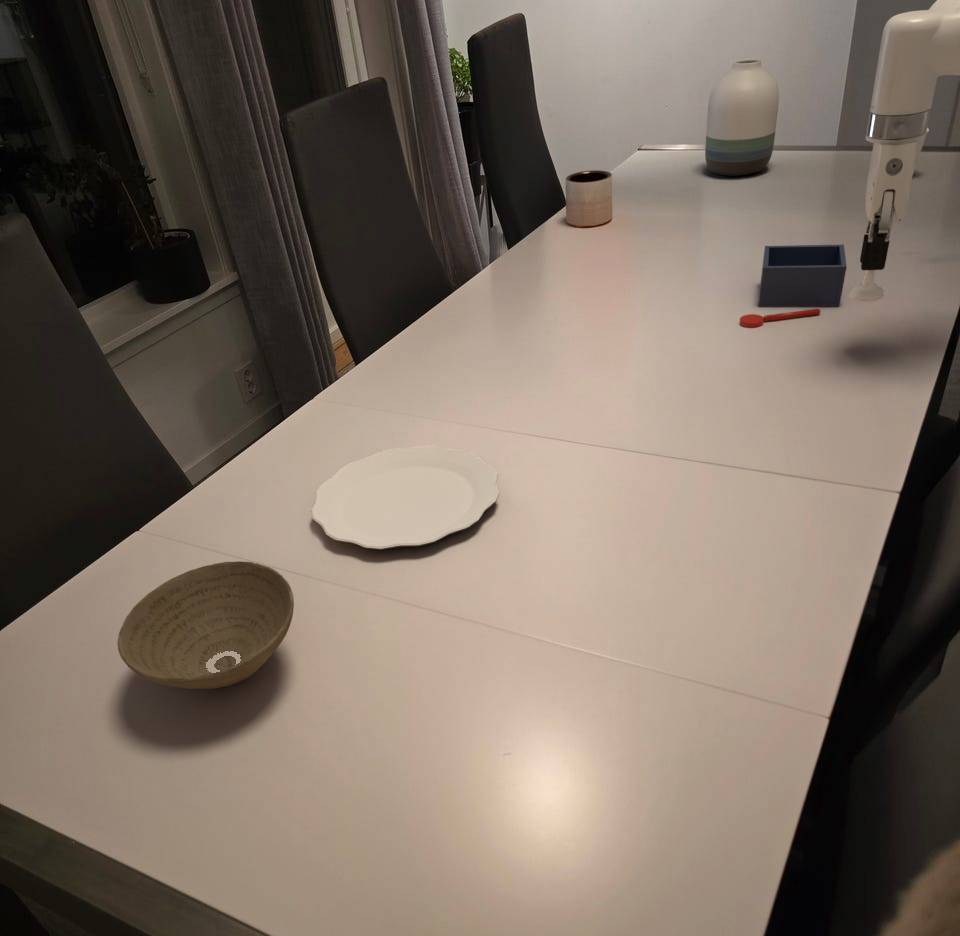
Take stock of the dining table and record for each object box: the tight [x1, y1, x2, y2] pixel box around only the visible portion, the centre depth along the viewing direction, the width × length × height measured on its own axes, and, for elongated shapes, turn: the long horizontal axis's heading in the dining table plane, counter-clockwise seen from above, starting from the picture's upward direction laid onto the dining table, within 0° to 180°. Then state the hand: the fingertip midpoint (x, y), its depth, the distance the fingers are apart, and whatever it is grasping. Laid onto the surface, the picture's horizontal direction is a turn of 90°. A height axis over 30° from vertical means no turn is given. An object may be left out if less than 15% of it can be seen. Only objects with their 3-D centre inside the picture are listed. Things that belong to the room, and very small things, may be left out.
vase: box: [704, 58, 780, 177], centre depth 210 cm, size 17×17×24 cm
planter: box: [565, 169, 613, 228], centre depth 195 cm, size 11×11×10 cm
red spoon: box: [739, 308, 821, 329], centre depth 145 cm, size 14×4×1 cm, turn 94°
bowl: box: [117, 560, 295, 690], centre depth 88 cm, size 18×18×8 cm
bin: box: [758, 244, 847, 308], centre depth 150 cm, size 14×12×7 cm
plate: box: [310, 444, 500, 551], centre depth 112 cm, size 25×25×2 cm
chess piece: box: [848, 270, 885, 303], centre depth 125 cm, size 5×5×10 cm
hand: (871, 264), depth 125 cm, fingers closed on chess piece
